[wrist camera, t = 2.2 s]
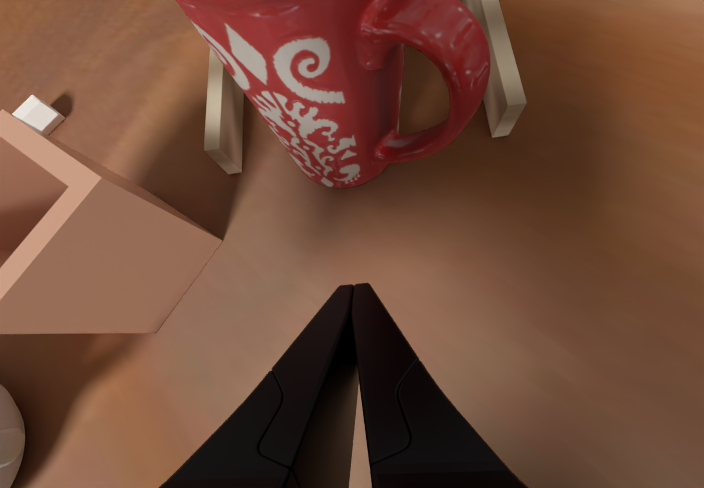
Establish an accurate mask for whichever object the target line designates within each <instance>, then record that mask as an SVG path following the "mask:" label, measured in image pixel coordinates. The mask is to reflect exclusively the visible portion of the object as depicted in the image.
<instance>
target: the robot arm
mask: <svg viewBox="0 0 704 488" xmlns="http://www.w3.org/2000/svg"><path fill="white" fill-rule="evenodd" d="M359 384H360V392H361V400H362V408H363V416H364V424H365V432H366V440H367V449H368V457H369V465H370V473H371V482H372V488H528V487H527V486H526V485H525V484H524V483H523V482H522V481H521V480H520V479H519V478H518V477H517V476H516V475H515V474H514V473H513V472H512V471H511V470H510V469H509V468H508V467H507V466H506V465H505V464H504V463H503V462H502V460H501V459H500V458H499V457H498V456H497V455H496V454H495V452H494V451H493V450H492V449H491V448H490V447H489V446H488V444H487V443H486V442H485V441H484V440H483V439H482V438H481V436H480V435H479V434H478V433H477V432H476V431H475V430H474V428H473V427H472V426H471V425H470V424H469V423H468V422H467V420H466V419H465V418H464V417H463V416H462V415H461V414H460V412H459V411H458V410H457V409H456V408H455V406H454V405H453V404H452V403H451V402H450V400H449V399H448V398H447V397H446V396H445V394H444V393H443V392H442V391H441V389H440V388H439V387H438V385H437V384H436V382H435V381H434V380H433V378H432V377H431V375H430V374H429V373H428V371H427V370H426V368H425V367H424V365H423V364H422V362H421V361H419V358H418V356H417V355H416V353H415V352H414V350H413V349H412V347H411V346H410V344H409V343H408V341H407V340H406V338H405V337H404V335H403V334H402V332H401V331H400V329H399V328H398V326H397V325H396V323H395V322H394V320H393V319H392V317H391V316H390V314H389V313H388V311H387V310H386V308H385V307H384V305H383V303H382V302H381V300H380V299H379V297H378V296H377V294H376V293H375V291H374V290H373V288H372V287H371V285H370V284H369V283H361V284H356V285H355V286H354V285H352V284H350V285H341V286H339V287H338V288H337V289H336V290H335V292H334V293H333V294H332V295H331V297H330V298H329V299H328V300H327V301H326V303H325V304H324V305H323V306H322V308H321V309H320V310H319V311H318V312H317V314H316V315H315V316H314V317H313V319H312V320H311V321H310V322H309V324H308V325H307V326H306V327H305V328H304V330H303V331H302V332H301V333H300V335H299V336H298V337H297V338H296V339H295V341H294V342H293V343H292V344H291V346H290V347H289V348H288V349H287V351H286V352H285V353H284V354H283V355H282V357H281V358H280V359H279V360H278V362H277V363H276V364H275V365H274V366H273V368H272V371H269V372H268V374H267V375H266V376H265V377H264V379H263V380H262V381H261V382H260V383H259V385H258V386H257V387H256V388H255V389H254V390H253V392H252V393H251V394H250V395H249V396H248V397H247V399H246V400H245V401H244V402H243V403H242V404H241V405H240V406H239V407H238V408H237V409H236V410H235V411H234V413H233V414H232V415H231V416H230V417H229V418H228V419H227V420H226V421H225V422H224V423H223V424H222V425H221V426H220V427H219V428H218V429H217V430H216V431H215V432H214V433H213V434H212V435H211V436H210V437H209V438H208V439H207V441H206V442H205V443H204V444H203V445H202V446H201V447H200V448H199V449H198V450H197V451H196V452H195V453H194V454H193V455H192V456H191V457H190V458H189V459H188V460H187V461H186V462H185V463H184V464H183V465H182V466H181V467H180V468H179V469H178V470H177V471H176V472H175V473H174V474H173V475H172V476H171V477H170V478H169V479H168V480H167V481H166V482H164V483H163V484H162V485H161V486H160V487H159V488H349V479H350V468H351V458H352V447H353V437H354V426H355V416H356V406H357V395H358V385H359Z"/></svg>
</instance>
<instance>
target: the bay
mask: <svg viewBox="0 0 704 488" xmlns="http://www.w3.org/2000/svg"><path fill="white" fill-rule="evenodd" d="M458 1H460V2H461V3H462V4H464V5H465V6H466V7H467V8H468V9H469V10H470V11H471V12H472V13H473V15H474V16H475V18H476V19H477V21H478V22H479V23H480V25H481V26H482V28H483V30H484V33H485V35H486V37H487V40H488V44H489V51H490V60H491V67H490V75H489V81H488V85H487V88H486V91H485V94H484V97H483V100H484V105H485V109H486V113H487V118H488V122H489V126H490V131H491V135H492V138H493V137H501V136H508V135H509V133H510V131H511V130H512V128H513V126H514V125H515V123H516V121H517V119H518V118H519V116H520V114H521V112H522V111H523V109H524V107H525V105H526V104H527V102H526V98H525V94H524V91H523V87H522V83H521V80H520V76H519V72H518V69H517V65H516V62H515V58H514V54H513V51H512V47H511V43H510V40H509V36H508V32H507V29H506V25H505V21H504V18H503V14H502V11H501V7H500V3H499V0H458ZM243 106H244V92H243V90H242V89H241V88H240V86H239V85H238V84H237V82H236V81H235V80H234V78H233V77H232V76H231V74H230V73H229V72H228V71H227V69H226V68H225V66H224V65H223V64H222V62H221V61H220V60H219V59H218V57H217V56H216V55H215V53H214V52H213V51H212V49H211V48H210V59H209V75H208V91H207V106H206V122H205V138H204V152H205V153H206V154H207V155H208V156H209V157H210V158H212V159H213V160H214V161H215V162H216V163H217V164H218V165H219V166H220V167H221V168H222V169H223V170H224V171H225V172H226V173H228V174H234V173H241V172H242V146H243Z"/></svg>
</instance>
